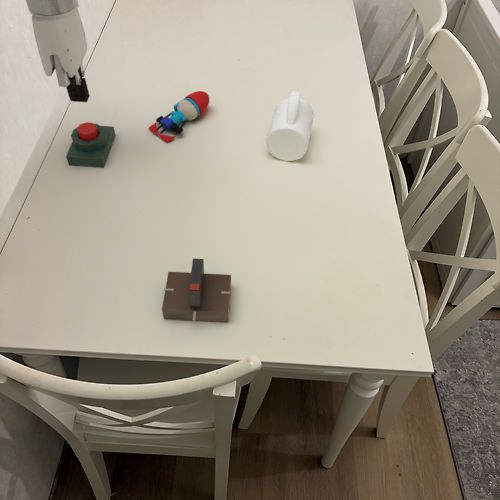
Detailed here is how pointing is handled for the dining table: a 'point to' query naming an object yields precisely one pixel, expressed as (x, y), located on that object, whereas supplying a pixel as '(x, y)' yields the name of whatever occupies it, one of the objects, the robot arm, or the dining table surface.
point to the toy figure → (182, 114)
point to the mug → (290, 128)
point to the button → (87, 131)
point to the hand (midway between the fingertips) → (80, 99)
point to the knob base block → (212, 298)
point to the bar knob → (196, 283)
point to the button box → (91, 148)
